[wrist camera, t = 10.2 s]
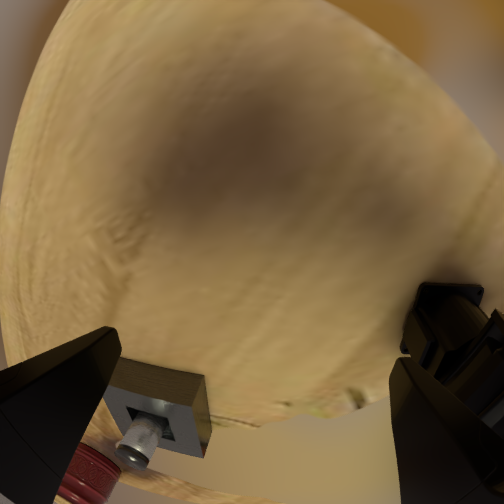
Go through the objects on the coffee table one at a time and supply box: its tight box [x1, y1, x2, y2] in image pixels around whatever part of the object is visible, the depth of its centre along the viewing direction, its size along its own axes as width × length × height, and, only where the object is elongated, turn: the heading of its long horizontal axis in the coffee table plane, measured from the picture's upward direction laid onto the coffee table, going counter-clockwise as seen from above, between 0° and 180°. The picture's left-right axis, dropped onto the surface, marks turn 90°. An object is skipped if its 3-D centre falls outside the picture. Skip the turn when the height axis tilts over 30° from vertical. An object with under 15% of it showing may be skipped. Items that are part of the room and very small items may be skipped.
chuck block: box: [103, 357, 212, 458], centre depth 26 cm, size 19×10×4 cm, turn 89°
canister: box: [54, 443, 121, 504], centre depth 34 cm, size 13×13×18 cm
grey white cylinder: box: [114, 410, 169, 471], centre depth 23 cm, size 3×3×8 cm
